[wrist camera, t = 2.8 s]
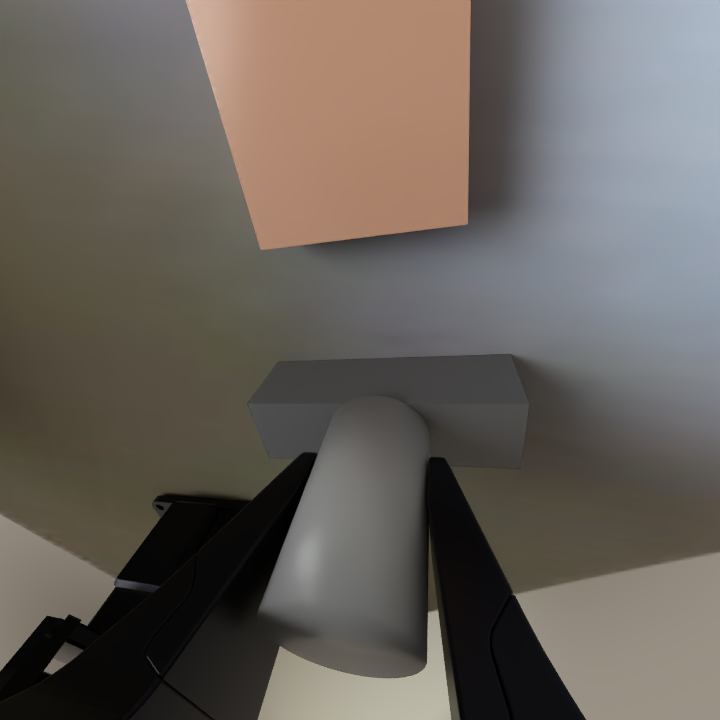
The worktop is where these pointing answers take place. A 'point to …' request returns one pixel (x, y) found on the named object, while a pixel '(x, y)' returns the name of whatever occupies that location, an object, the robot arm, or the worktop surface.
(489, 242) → the worktop surface
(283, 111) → the tile
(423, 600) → the pusher
